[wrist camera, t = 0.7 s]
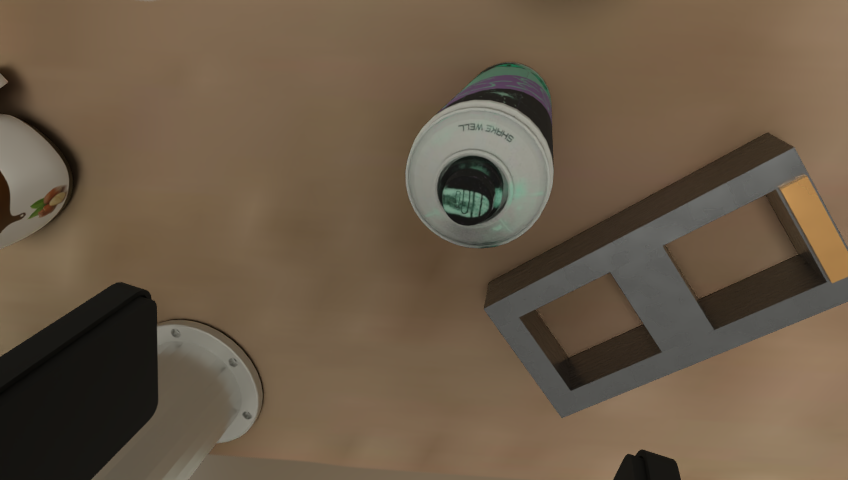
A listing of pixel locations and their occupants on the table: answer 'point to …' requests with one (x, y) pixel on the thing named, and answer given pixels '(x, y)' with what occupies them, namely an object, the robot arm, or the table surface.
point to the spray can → (485, 159)
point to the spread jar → (29, 179)
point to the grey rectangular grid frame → (675, 279)
